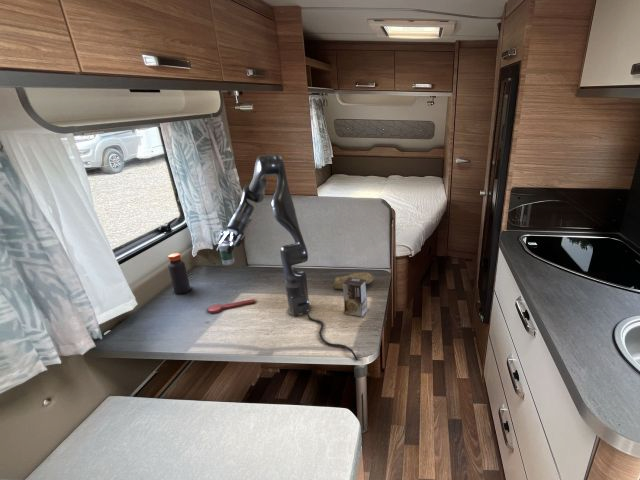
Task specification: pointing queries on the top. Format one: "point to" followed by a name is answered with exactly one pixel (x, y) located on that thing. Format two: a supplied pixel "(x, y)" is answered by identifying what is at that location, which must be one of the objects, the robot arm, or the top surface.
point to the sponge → (342, 279)
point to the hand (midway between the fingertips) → (223, 252)
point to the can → (225, 257)
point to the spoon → (228, 306)
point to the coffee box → (355, 296)
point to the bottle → (178, 274)
